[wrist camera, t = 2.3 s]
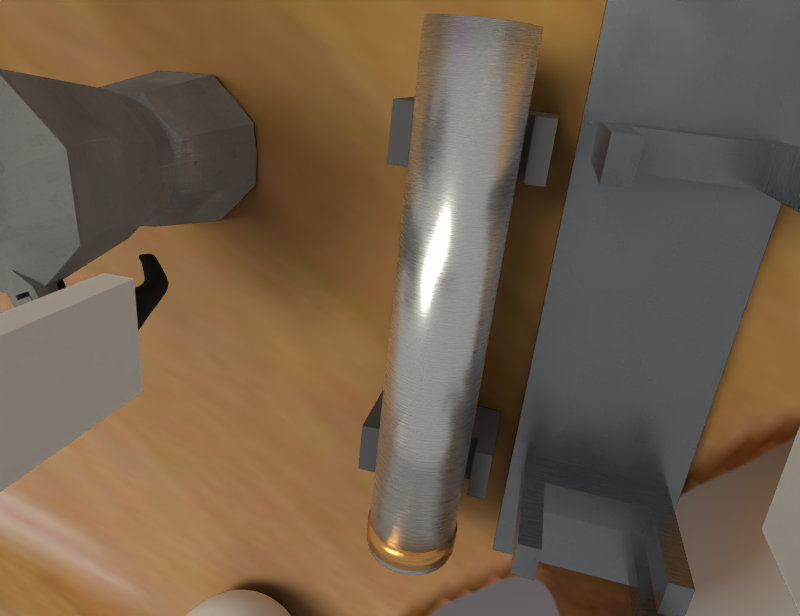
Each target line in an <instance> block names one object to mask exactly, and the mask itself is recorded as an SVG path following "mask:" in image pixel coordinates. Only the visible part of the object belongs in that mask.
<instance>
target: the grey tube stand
mask: <svg viewBox="0 0 800 616" xmlns="http://www.w3.org/2000/svg"><path fill="white" fill-rule="evenodd" d="M781 203H783V204H784V205H786V206H788V207H790V208H792V209H793V210H795V211H797V212H799V213H800V0H607V2H606V7H605V12H604V17H603V21H602V26H601V31H600V36H599V40H598V45H597V50H596V55H595V60H594V64H593V69H592V74H591V79H590V84H589V88H588V93H587V98H586V103H585V108H584V112H583V117H582V122H581V127H580V131H579V136H578V141H577V146H576V151H575V155H574V160H573V165H572V170H571V175H570V179H569V184H568V189H567V194H566V198H565V203H564V208H563V213H562V218H561V222H560V227H559V232H558V237H557V242H556V246H555V251H554V256H553V261H552V265H551V270H550V275H549V280H548V285H547V289H546V294H545V299H544V304H543V309H542V313H541V318H540V323H539V328H538V333H537V337H536V342H535V347H534V352H533V356H532V361H531V366H530V371H529V376H528V380H527V385H526V390H525V395H524V400H523V404H522V409H521V414H520V419H519V423H518V428H517V433H516V438H515V443H514V447H513V452H512V457H511V462H510V467H509V471H508V476H507V481H506V486H505V490H504V495H503V500H502V505H501V510H500V514H499V519H498V524H497V529H496V534H495V538H494V545H493V550H497V551H500V552H504V553H508V554H512V555H513V558H512V567H511V574H513V575H517V576H521V577H524V578H528V579H532V580H535V576H536V572H537V568H538V564H539V562H542V563H546V564H550V565H554V566H557V567H561V568H565V569H569V570H573V571H576V572H580V573H584V574H588V575H591V576H595V577H599V578H603V579H607V580H610V581H614V582H618V583H622V584H626V585H629V589H630V596H631V604H632V611H633V616H685V614H686V612H687V609H688V606H689V604H690V601H691V599H692V596H693V594H694V591H695V588H694V584H693V580H692V577H691V573H690V569H689V565H688V561H687V557H686V554H685V550H684V546H683V542H682V538H681V534H680V531H679V527H678V523H677V519H676V515H675V508H676V506H677V503H678V500H679V497H680V494H681V492H682V489H683V486H684V483H685V480H686V477H687V474H688V471H689V468H690V466H691V463H692V460H693V457H694V454H695V451H696V448H697V445H698V443H699V440H700V437H701V434H702V431H703V428H704V425H705V422H706V419H707V417H708V414H709V411H710V408H711V405H712V402H713V399H714V396H715V393H716V391H717V388H718V385H719V382H720V379H721V376H722V373H723V370H724V368H725V365H726V362H727V359H728V356H729V353H730V350H731V347H732V344H733V342H734V339H735V336H736V333H737V330H738V327H739V324H740V321H741V318H742V316H743V313H744V310H745V307H746V304H747V301H748V298H749V295H750V293H751V290H752V287H753V284H754V281H755V278H756V275H757V272H758V269H759V267H760V264H761V261H762V258H763V255H764V252H765V249H766V246H767V243H768V241H769V238H770V235H771V232H772V229H773V226H774V223H775V220H776V218H777V215H778V212H779V209H780V206H781Z"/></svg>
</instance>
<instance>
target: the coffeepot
mask: <svg viewBox="0 0 800 616" xmlns="http://www.w3.org/2000/svg"><path fill="white" fill-rule="evenodd" d="M256 163H257V149H256V140H255V136H254V123H253V122H252V120H251V119H250V118H249V116H248V115H247V114H246V113H245V111H244V110H243V108H242V107H241V106H240V104H239V103H238V101H237V100H236V99H235V98H234V97H233V96H232V95H231V94H230V93H229V92H228V91H227V90H226V89H225V88H224V87H223V86H222V85H221V84H220V83H219V82H218V80H217V79H216V78H215V77H214V76H213V75H211V74H197V73H182V72H168V71H156V72H152V73H149V74H145V75H141V76H138V77H134V78H131V79H127V80H124V81H120V82H117V83H113V84H110V85H106V86H103V87H99V88H96V87H91V86H86V85H81V84H76V83H70V82H65V81H60V80H55V79H50V78H44V77H39V76H34V75H29V74H24V73H19V72H13V71H8V70H3V69H0V292H2V293H8V296H9V298H10V300H11V302H12V304H13V305H14V307H17V306H20V305H22V304H25V303H28V302H30V301H33V300H35V299H38V298H40V297H43V296H46V295H48V294H51V293H53V292H56V291H58V290H61V289H64V288H66V286H65V284H64V281H63V279H64V278H66V277H68V276H69V275H71V274H72V273H74V272H76V271H77V270H79V269H80V268H82V267H83V266H85V265H87V264H88V263H90V262H91V261H93V260H95V259H96V258H98V257H99V256H101V255H102V254H104V253H106V252H107V251H109V250H110V249H112V248H114V247H115V246H117V245H118V244H120V243H121V242H123V241H125V240H126V239H128V238H129V237H130V236H131V235H132V234H133V233H134V232H135V231H136V230H137V229H138V228H139V227H140V226H154V227H156V226H167V225H178V224H189V223H200V222H211V221H220V220H221V219H222V218H223V217H224V216H225V215H226V214H227V213H228V212H229V211H230V210H232V209H233V208H234V207H235V206H236V205H237V204H238V203H239V202H240V201H241V200H242V199H243V197H244V196H245V195H246V194H247V193H248V192H249V191H250V190H251V189H252V188H253V187H254V186H255V185H256ZM139 259H140V260H141V262H142V266H143V271H144V276H145V280H144V283H143V284H142V285H141V286H138V287H136V288H135V297H136V310H137V322H138V330H139V329H140V328H141V326H142V325H143V323H144V322H145V320H146V319H147V318H148V316H149V315H150V313H151V312H152V311H153V309H154V308H155V307H156V305H157V304H158V303H159V301H160V300H161V298H162V297H163V296H164V294H165V293H166V291H167V288H168V280H167V277H166V275H165V273H164V271H163V269H162V267H161V265H160V264H159V262H158V260H157V258H156V257H155V256H154V255H152V254H142V255H140V256H139Z"/></svg>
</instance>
